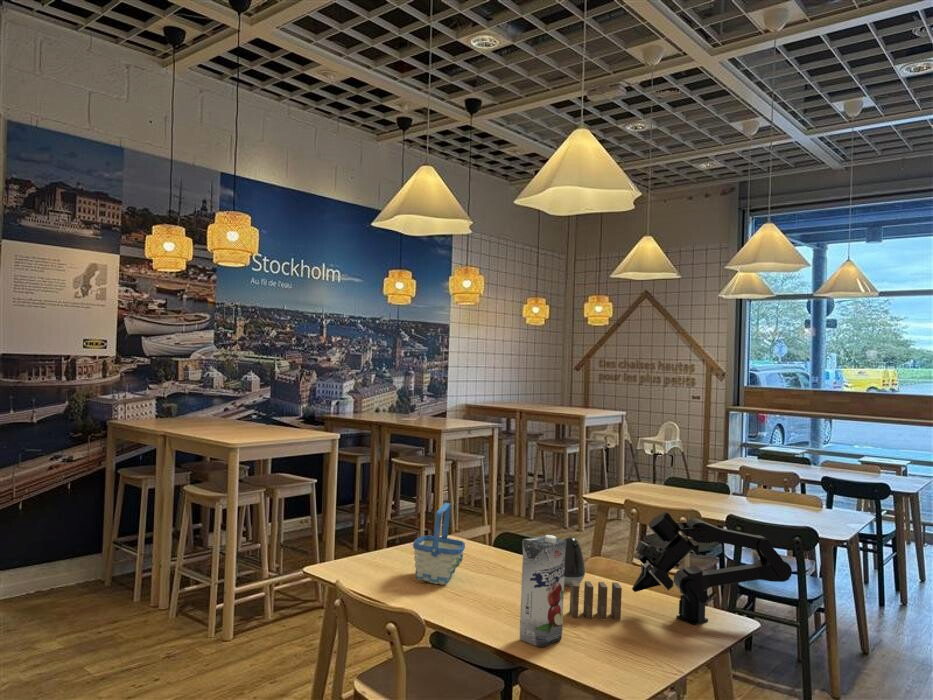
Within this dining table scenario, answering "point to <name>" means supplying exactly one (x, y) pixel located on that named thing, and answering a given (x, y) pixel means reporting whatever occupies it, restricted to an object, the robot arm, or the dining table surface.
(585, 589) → the domino
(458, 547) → the basket
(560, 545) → the juice carton
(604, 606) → the domino
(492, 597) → the dining table surface
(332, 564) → the dining table surface
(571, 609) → the domino
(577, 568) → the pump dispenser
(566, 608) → the dining table surface
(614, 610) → the domino
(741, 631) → the dining table surface
